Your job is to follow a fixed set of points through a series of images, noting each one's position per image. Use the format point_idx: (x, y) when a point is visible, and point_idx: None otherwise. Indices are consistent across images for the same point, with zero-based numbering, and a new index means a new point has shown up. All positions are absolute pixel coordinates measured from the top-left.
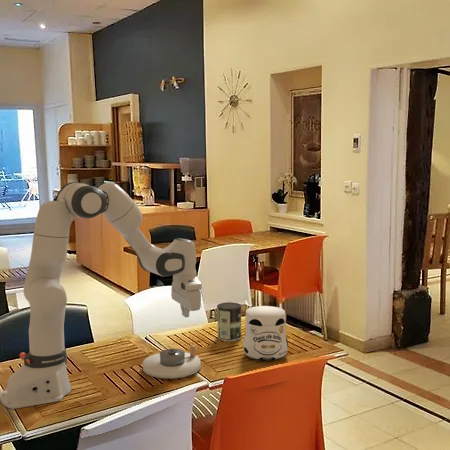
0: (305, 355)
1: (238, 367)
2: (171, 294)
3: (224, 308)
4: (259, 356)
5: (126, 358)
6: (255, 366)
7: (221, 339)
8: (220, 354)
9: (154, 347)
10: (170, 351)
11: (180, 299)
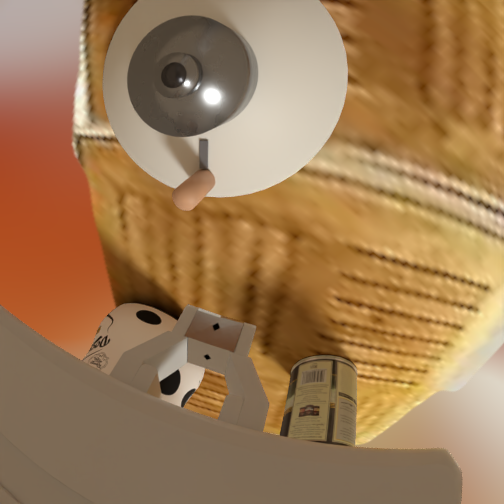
0: None
1: (124, 251)
2: (456, 489)
3: None
4: (115, 308)
5: (449, 23)
6: (117, 280)
7: (325, 357)
8: (233, 287)
9: (468, 182)
10: (165, 60)
11: (163, 470)
